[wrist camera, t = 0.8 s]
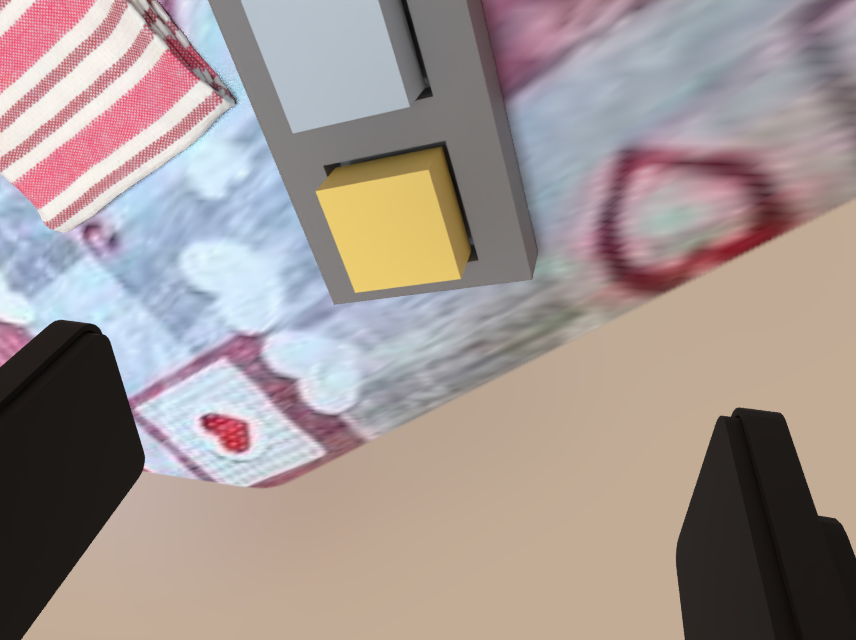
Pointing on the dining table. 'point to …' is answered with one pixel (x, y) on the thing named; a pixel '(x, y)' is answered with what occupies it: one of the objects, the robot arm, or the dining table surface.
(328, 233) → the button board
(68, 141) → the dish towel
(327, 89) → the blue button
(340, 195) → the mustard button
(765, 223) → the dining table surface
